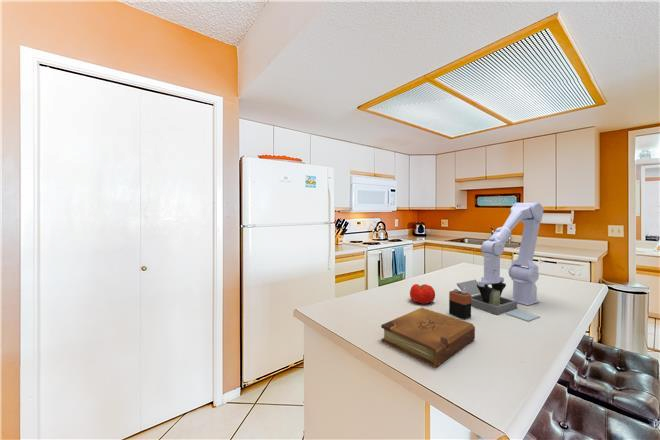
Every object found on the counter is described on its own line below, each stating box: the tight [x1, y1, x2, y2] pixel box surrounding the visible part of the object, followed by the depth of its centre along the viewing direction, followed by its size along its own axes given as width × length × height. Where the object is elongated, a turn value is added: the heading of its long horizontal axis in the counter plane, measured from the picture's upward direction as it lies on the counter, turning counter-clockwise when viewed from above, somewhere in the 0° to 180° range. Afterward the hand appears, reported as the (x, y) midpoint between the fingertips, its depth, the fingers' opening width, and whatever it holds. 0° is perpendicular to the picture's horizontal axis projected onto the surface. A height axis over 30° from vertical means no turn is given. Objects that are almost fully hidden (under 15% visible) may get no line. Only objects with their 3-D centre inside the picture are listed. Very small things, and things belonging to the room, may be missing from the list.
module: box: [484, 289, 501, 306], centre depth 111 cm, size 4×4×8 cm
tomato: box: [409, 283, 436, 305], centre depth 118 cm, size 11×11×8 cm
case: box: [456, 279, 518, 316], centre depth 114 cm, size 14×18×8 cm
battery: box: [448, 288, 472, 320], centre depth 102 cm, size 4×7×10 cm, turn 28°
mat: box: [505, 308, 541, 322], centre depth 102 cm, size 8×8×1 cm
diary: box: [380, 307, 476, 368], centre depth 83 cm, size 23×19×6 cm
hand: (491, 300), depth 111 cm, fingers open, 7 cm apart
